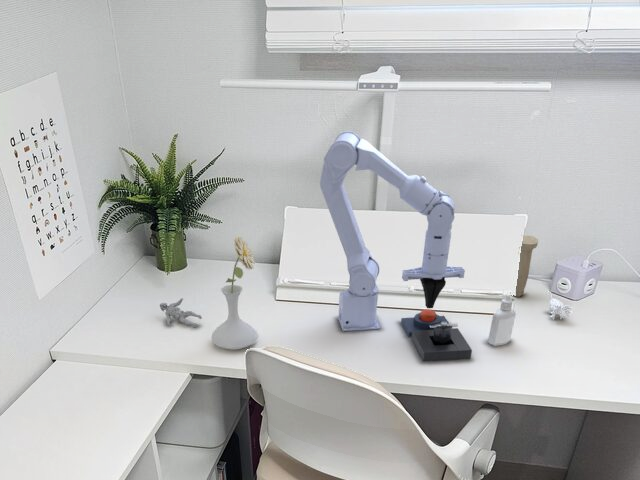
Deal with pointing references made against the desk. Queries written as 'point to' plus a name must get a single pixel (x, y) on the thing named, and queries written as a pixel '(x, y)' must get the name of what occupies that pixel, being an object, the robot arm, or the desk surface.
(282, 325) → the desk surface
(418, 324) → the switch box
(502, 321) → the eye dropper bottle
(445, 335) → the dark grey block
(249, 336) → the flower in vase
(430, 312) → the stop button
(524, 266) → the handle
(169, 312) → the soldier figure
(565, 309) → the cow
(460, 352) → the square hole block
